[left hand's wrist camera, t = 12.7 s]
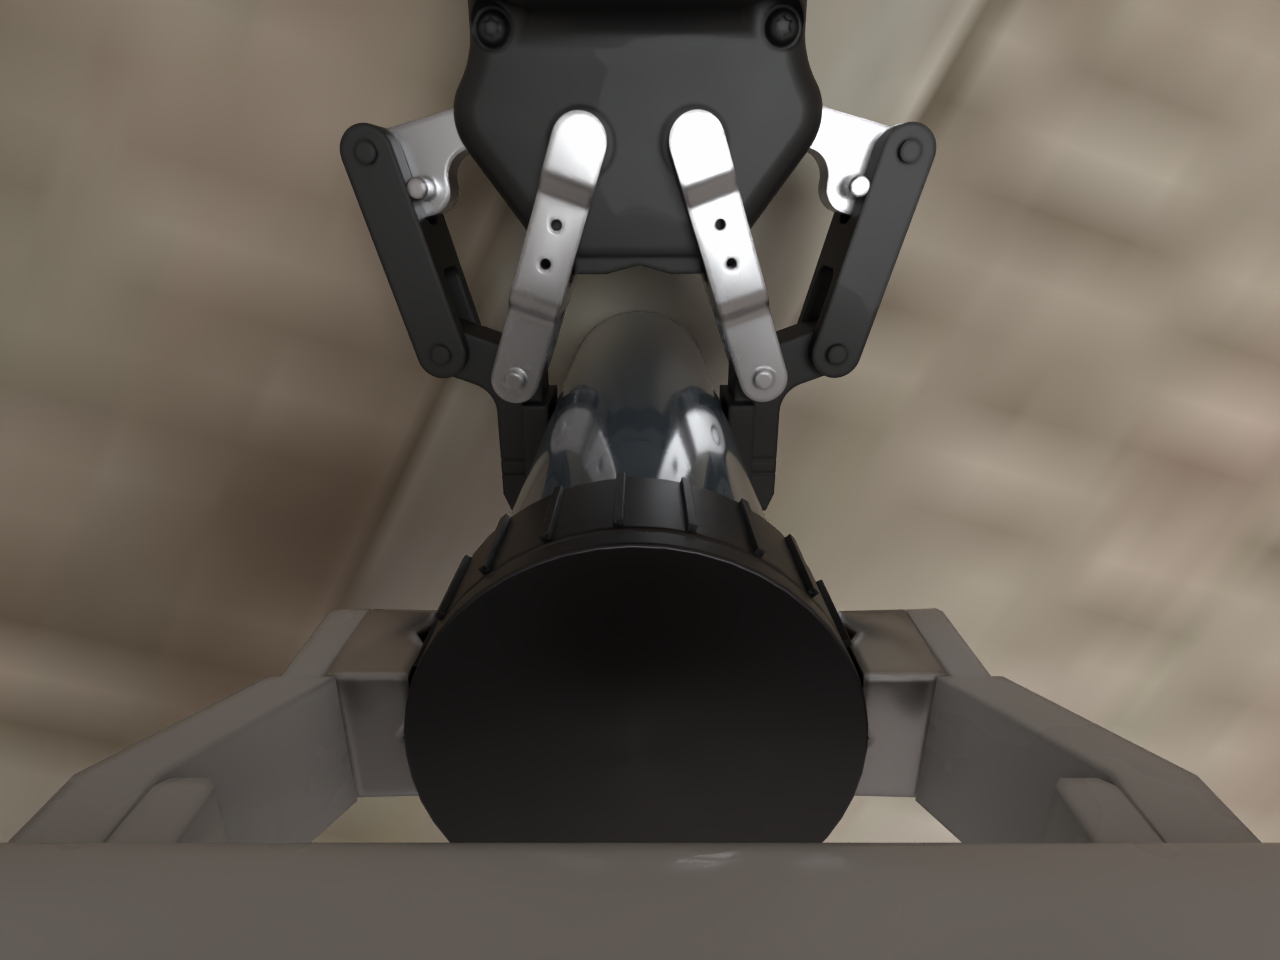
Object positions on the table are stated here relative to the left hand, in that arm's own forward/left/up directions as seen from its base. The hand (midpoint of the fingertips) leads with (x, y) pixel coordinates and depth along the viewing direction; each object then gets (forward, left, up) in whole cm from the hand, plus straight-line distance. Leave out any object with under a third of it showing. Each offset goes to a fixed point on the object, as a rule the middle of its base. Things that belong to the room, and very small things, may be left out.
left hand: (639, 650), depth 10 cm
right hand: (-1, -3, -10) cm, 11 cm away
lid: (0, 0, +2) cm, 2 cm away
